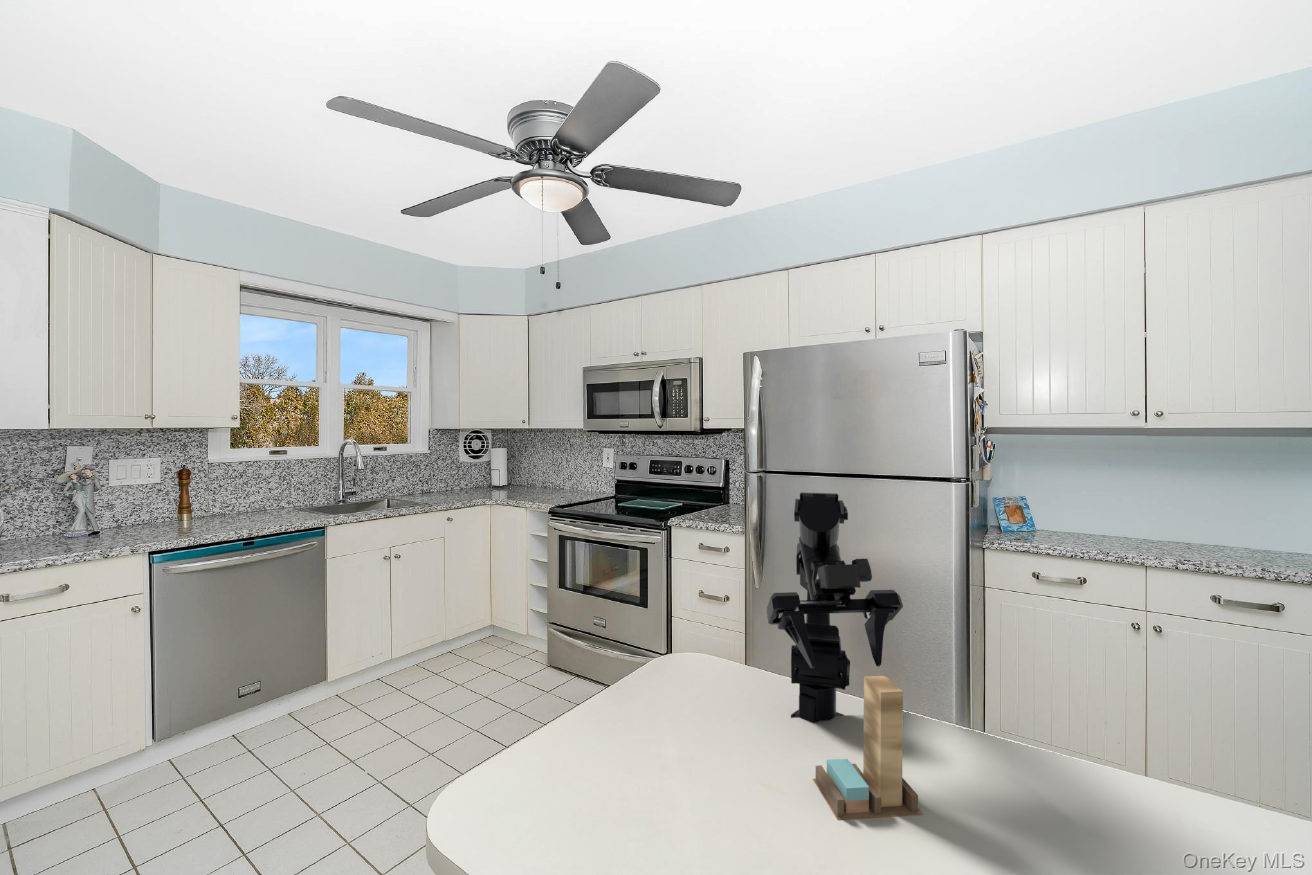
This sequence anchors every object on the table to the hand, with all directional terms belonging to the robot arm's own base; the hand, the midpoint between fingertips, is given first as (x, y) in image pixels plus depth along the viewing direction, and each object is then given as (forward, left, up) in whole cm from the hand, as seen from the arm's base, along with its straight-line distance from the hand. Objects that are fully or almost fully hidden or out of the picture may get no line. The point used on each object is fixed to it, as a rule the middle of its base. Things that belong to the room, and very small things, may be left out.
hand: (846, 666), depth 79 cm
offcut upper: (+7, +4, -12) cm, 14 cm away
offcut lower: (+7, +4, -13) cm, 16 cm away
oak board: (+4, +7, -13) cm, 15 cm away
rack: (+6, +5, -14) cm, 16 cm away
